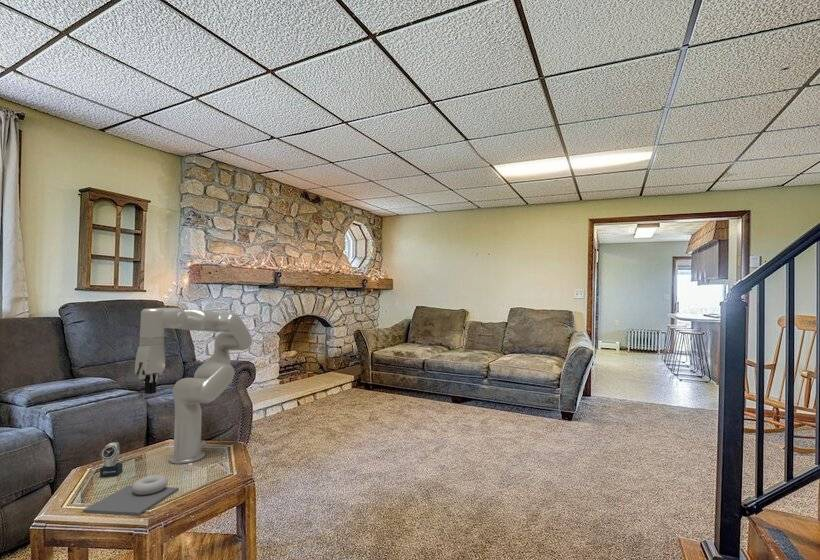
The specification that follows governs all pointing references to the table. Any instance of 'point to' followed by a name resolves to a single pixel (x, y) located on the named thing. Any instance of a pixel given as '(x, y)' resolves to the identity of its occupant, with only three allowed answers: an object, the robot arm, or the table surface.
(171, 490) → the mat
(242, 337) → the robot arm
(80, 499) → the table surface
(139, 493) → the donut
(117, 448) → the watch
